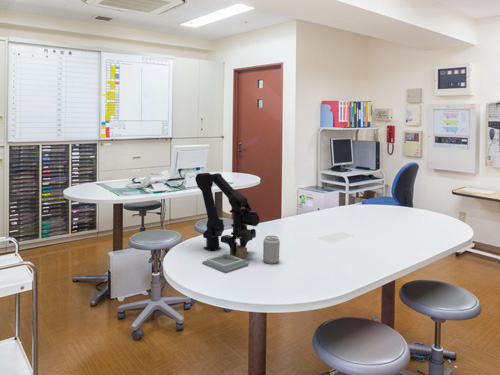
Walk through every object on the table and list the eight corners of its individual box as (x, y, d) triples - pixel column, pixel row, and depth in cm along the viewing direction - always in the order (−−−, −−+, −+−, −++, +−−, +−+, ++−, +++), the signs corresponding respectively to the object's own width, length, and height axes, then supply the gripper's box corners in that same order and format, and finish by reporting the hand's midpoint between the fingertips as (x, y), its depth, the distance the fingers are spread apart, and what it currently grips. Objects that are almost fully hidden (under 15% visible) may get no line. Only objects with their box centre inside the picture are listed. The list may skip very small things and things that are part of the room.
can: (265, 264, 190) (266, 239, 189) (261, 259, 198) (261, 235, 196) (281, 263, 192) (282, 238, 191) (275, 258, 200) (276, 234, 198)
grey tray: (202, 263, 190) (202, 258, 189) (225, 257, 200) (225, 252, 199) (225, 273, 179) (225, 267, 178) (248, 265, 189) (248, 260, 188)
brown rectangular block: (229, 254, 203) (229, 246, 202) (237, 253, 206) (237, 244, 205) (238, 258, 198) (239, 249, 197) (246, 256, 201) (247, 247, 200)
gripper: (236, 229, 187) (235, 262, 190) (264, 222, 200) (263, 253, 203) (220, 224, 195) (219, 256, 197) (248, 218, 208) (247, 248, 210)
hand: (238, 253), depth 202 cm, fingers closed on brown rectangular block, 5 cm apart
